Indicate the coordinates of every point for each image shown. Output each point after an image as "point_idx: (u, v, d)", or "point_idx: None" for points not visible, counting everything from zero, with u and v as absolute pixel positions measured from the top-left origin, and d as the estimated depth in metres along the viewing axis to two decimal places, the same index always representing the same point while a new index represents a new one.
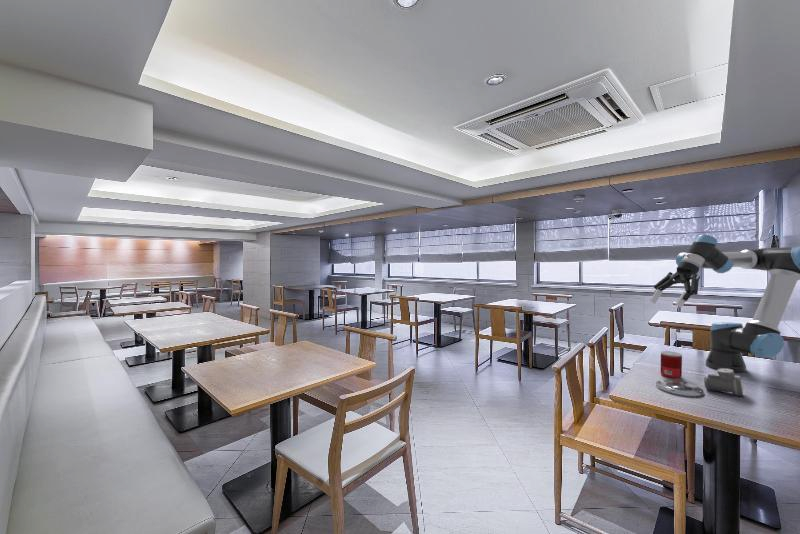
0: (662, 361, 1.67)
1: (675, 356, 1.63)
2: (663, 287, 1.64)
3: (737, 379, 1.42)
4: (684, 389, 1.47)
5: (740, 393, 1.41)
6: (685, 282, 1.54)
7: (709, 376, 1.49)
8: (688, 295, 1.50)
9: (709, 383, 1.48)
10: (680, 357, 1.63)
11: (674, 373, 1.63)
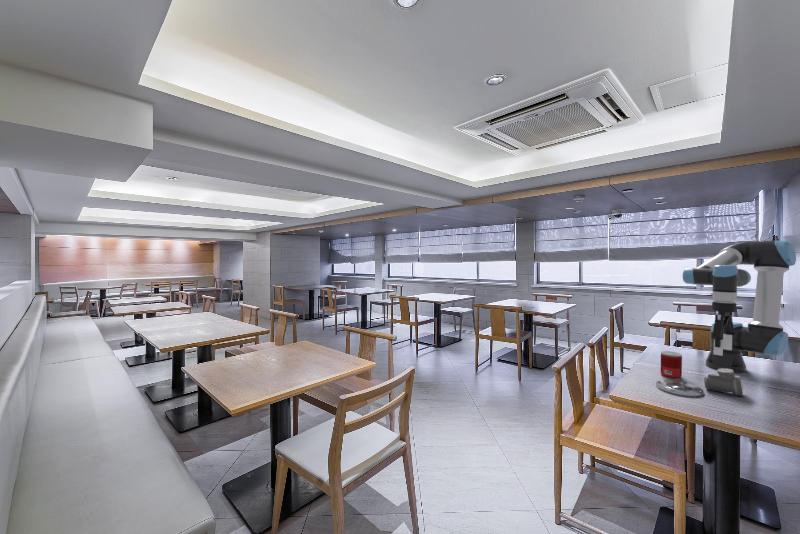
0: (662, 361, 1.67)
1: (675, 356, 1.63)
2: (727, 330, 1.50)
3: (737, 379, 1.42)
4: (684, 389, 1.47)
5: (740, 393, 1.41)
6: None
7: (709, 376, 1.49)
8: (716, 341, 1.42)
9: (709, 383, 1.48)
10: (680, 357, 1.63)
11: (674, 373, 1.63)
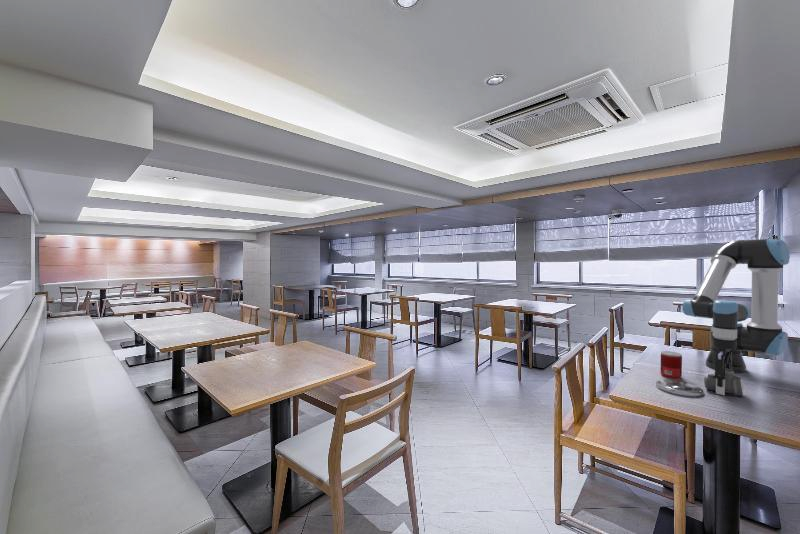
0: (662, 361, 1.67)
1: (675, 356, 1.63)
2: None
3: (737, 379, 1.42)
4: (684, 389, 1.47)
5: (740, 393, 1.41)
6: None
7: (709, 376, 1.49)
8: (719, 381, 1.44)
9: (709, 383, 1.48)
10: (680, 357, 1.63)
11: (674, 373, 1.63)
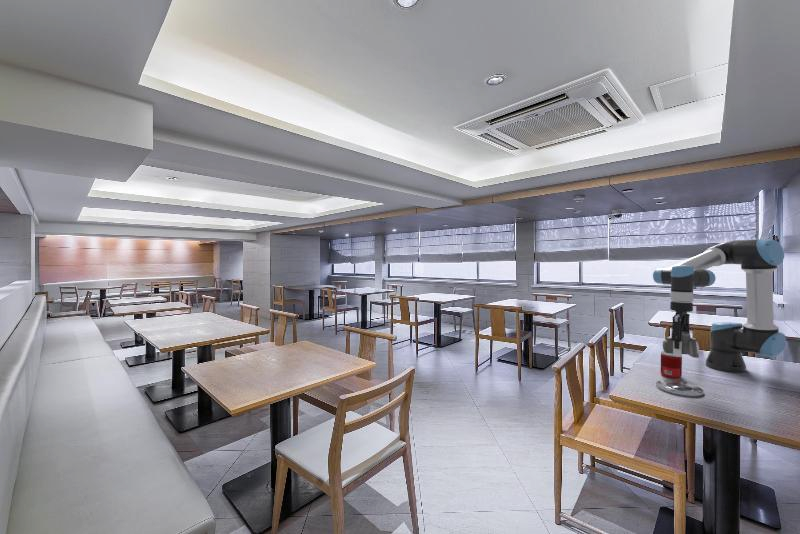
0: (662, 361, 1.67)
1: (675, 356, 1.63)
2: None
3: (693, 341, 1.45)
4: (684, 389, 1.47)
5: (695, 354, 1.44)
6: None
7: (667, 339, 1.51)
8: (675, 343, 1.46)
9: (667, 346, 1.50)
10: (680, 357, 1.63)
11: (674, 373, 1.63)
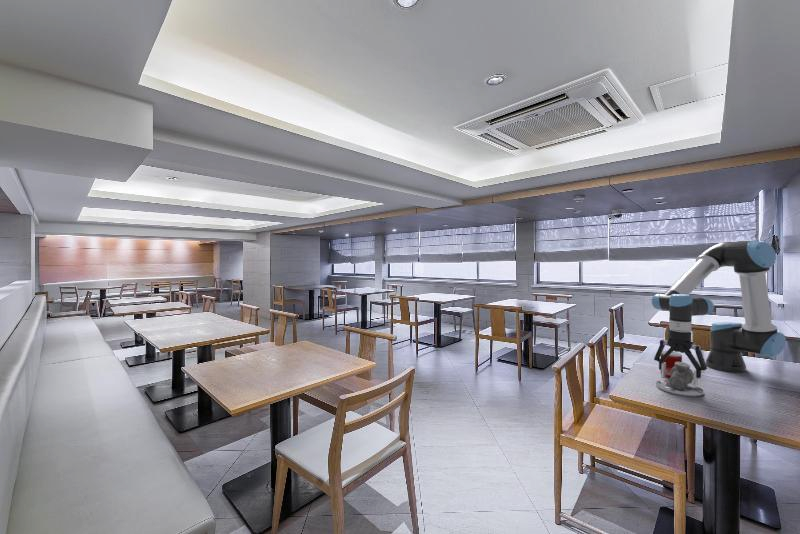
0: None
1: (675, 356, 1.63)
2: (665, 358, 1.54)
3: (688, 369, 1.51)
4: (684, 389, 1.47)
5: (692, 380, 1.51)
6: (689, 356, 1.46)
7: (682, 375, 1.46)
8: (700, 372, 1.44)
9: (687, 383, 1.45)
10: (680, 357, 1.63)
11: None
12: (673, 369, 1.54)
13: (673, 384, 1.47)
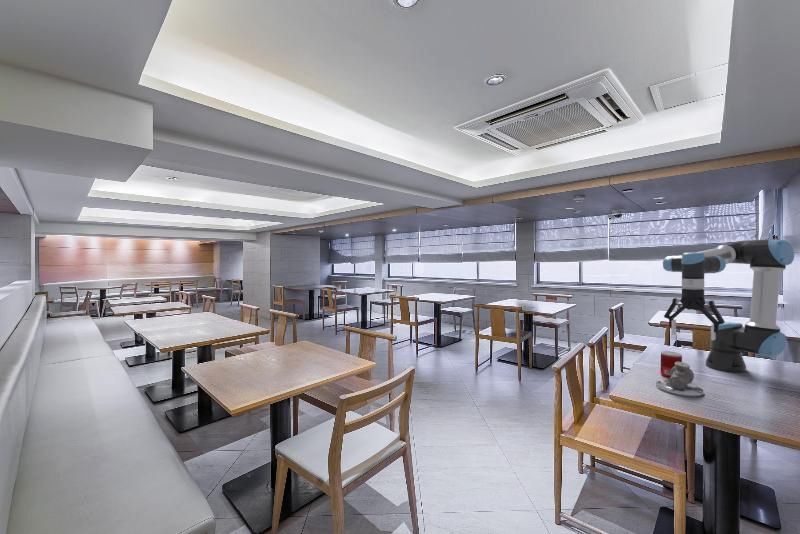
0: (662, 361, 1.67)
1: (675, 356, 1.63)
2: None
3: (688, 369, 1.51)
4: (684, 389, 1.47)
5: (692, 380, 1.51)
6: (705, 312, 1.47)
7: (682, 375, 1.46)
8: (718, 327, 1.45)
9: (687, 383, 1.45)
10: (680, 357, 1.63)
11: None
12: (673, 369, 1.54)
13: (673, 384, 1.47)
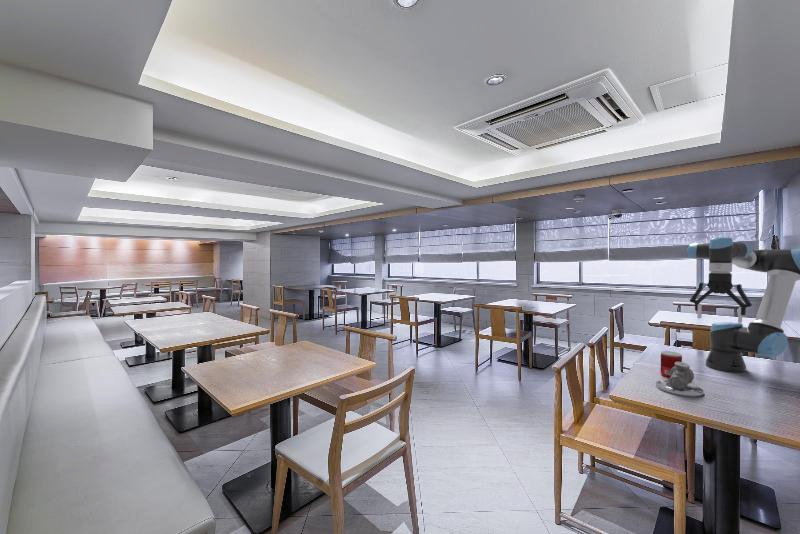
0: (662, 361, 1.67)
1: (675, 356, 1.63)
2: None
3: (688, 368, 1.51)
4: (684, 389, 1.47)
5: (692, 380, 1.51)
6: (732, 295, 1.50)
7: (682, 375, 1.46)
8: (745, 309, 1.48)
9: (687, 383, 1.45)
10: (680, 357, 1.63)
11: None
12: (673, 369, 1.54)
13: (673, 384, 1.47)
